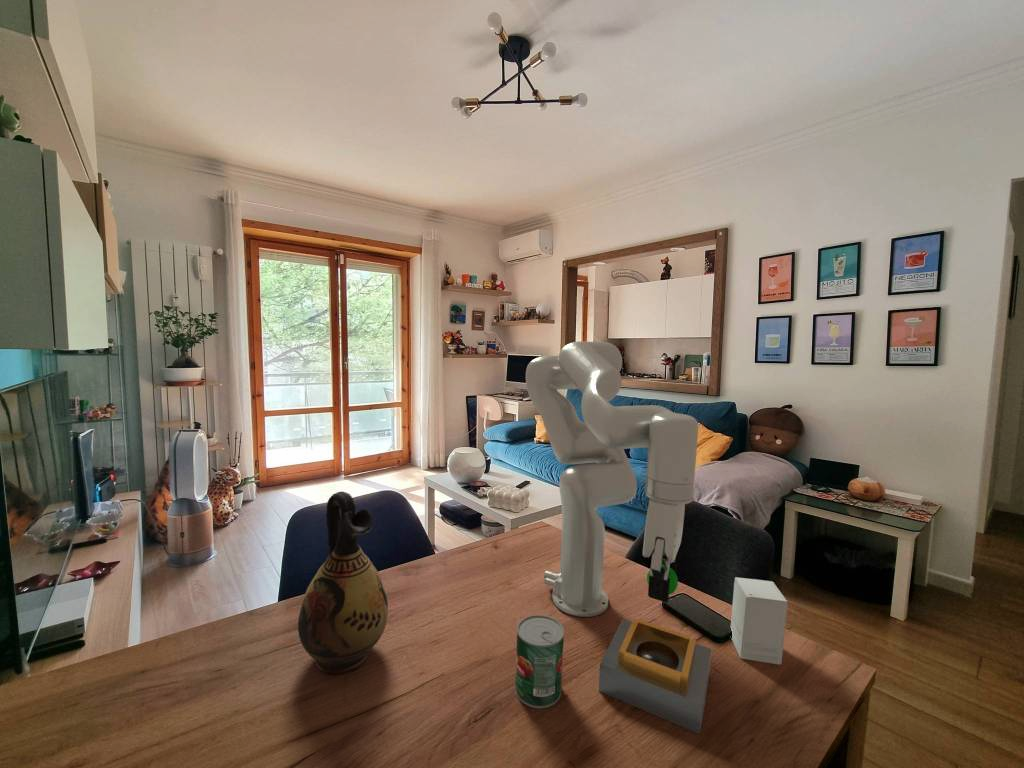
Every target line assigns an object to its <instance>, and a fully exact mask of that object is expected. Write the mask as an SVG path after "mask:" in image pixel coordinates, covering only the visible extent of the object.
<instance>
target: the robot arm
mask: <svg viewBox="0 0 1024 768" xmlns="http://www.w3.org/2000/svg"><path fill="white" fill-rule="evenodd" d="M622 356H623V355H622V354H621V351H620V350H619V348H618V347H617V346H616V345H615V344H612V343H611V342H606V341H573V342H569V343H568V344H566V345H564V346H563V347H562V348H561V349H560V351H559V354H558V355H544V356H539V357H536V358H534V359H532V360H531V361H530V362H529V363H528V364H527V366H526V371H525V384H526V390H527V393H528V396H529V398H530V400H531V403H532V404H533V406H534V408H535V409H536V411H537V413H538V414H539V415H540V418H541V420H542V422H543V425H544V429H545V432H546V434H547V435H546V436H547V437H548V441H549V443H550V447H551V449H552V451H553V454H554V456H555V458H556V459H557V461H558V462H559V463H561V464H564V465H573V466H570V467H567V468H566V469H565V470H563V472H562V473H561V475H560V477H559V482H558V483H559V485H558V486H559V494H560V502H561V503H560V504H561V543H560V545H561V547H560V564H559V565H560V567H559V572H558V573H555V572H553V571H550V570H547V569H546V570H545V572H544V575H543V577H544V584H545V585H548V586H552V587H553V590H552V595H551V596H552V601H553V604H554V605H555V606H556V607H557V608H558V609H559V610H561V611H562V612H564V613H566V614H568V615H571V616H575V617H579V618H580V617H581V618H585V617H586V618H590V617H595V616H599V615H600V614H602V613H605V611H606V610H607V609H608V606H609V597H608V594H607V593H606V591H604V589H603V573H604V559H605V539H606V538H605V536H606V535H605V534H606V530H605V528H606V527H605V524H604V522H603V520H602V518H601V517H600V516H599V514H598V512H597V510H598V509H599V508H603V507H607V506H608V507H609V506H616V505H617V506H618V505H621V504H622V505H623V504H626V503H627V504H628V503H629V502H631V501H632V500H633V499H634V498H635V497H636V494H637V489H638V486H637V479H636V475H635V473H634V470H633V467H632V465H631V463H630V461H629V458H628V456H627V454H626V452H625V450H627V449H629V450H630V449H638V448H640V449H641V448H647V458H646V459H647V460H646V461H647V462H646V477H645V490H644V494H645V496H646V497H647V498H649V499H648V505H647V511H646V518H645V526H644V527H645V528H644V535H643V546H642V556H643V557H644V558H650V556H651V563H650V569H649V570H650V574H649V585H648V590H647V596H648V597H649V598H650V599H654V600H657V601H661V602H664V603H668V602H669V599H670V594H669V587H670V578H668V576H669V567H670V568H671V569H673V570H674V572H675V573H676V569H677V562H676V557H677V555H678V552H679V548H680V546H681V544H682V538H683V529H684V522H685V521H684V520H685V512H686V511H685V509H686V507H685V506H686V505H688V504H690V503H693V500H694V490H695V489H694V488H695V474H696V465H697V463H696V461H697V450H698V440H699V438H698V437H699V421H698V420H697V419H696V418H695V417H694V416H691V415H688V414H684V413H679V412H678V413H677V412H673V411H672V410H670V409H668V408H666V407H664V406H661V405H656V404H655V405H654V404H653V405H652V404H651V405H649V404H648V405H620V406H619V405H618V406H617V405H616V406H614V405H612V404H611V403H610V401H612V400H613V399H614V398H616V396H617V395H618V393H620V390H621V387H622V384H623V383H622V382H623V381H622V376H621V373H620V372H621V369H622V367H623V357H622ZM558 390H579V392H580V393H581V394H582V397H581V399H580V400H581V402H580V403H581V404H580V406H581V407H580V408H581V409H580V410H581V413H582V414H581V415H582V418H583V421H581V419H580V417H579V415H578V413H577V410H576V408H575V406H574V404H572V402H571V401H570V400H569V399H568V398H567V397H566V396H564V395H563V394H562V393H560V392H559V391H558ZM662 564H664V565H665V570H664V568H663V567H662Z"/></svg>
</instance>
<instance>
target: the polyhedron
mask: <svg viewBox="0 0 1024 768" xmlns="http://www.w3.org/2000/svg"><path fill="white" fill-rule="evenodd" d="M662 567H663V568H664V570H665V565H664V564H662ZM649 574H650V569H649V571H648V572H647V573H646V582H647V585H648V586H649ZM668 578H670V587H669V595H672V594H674V593H675V591H676V590H677V588H678V584H679V582H678V576H677V574H676V571H675V572H674V570H673V569H671V568H670V567H669V576H668Z"/></svg>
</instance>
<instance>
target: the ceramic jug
mask: <svg viewBox="0 0 1024 768" xmlns="http://www.w3.org/2000/svg"><path fill="white" fill-rule="evenodd" d="M356 509H357V508H356V504H355V501H354V498H353V497H352V495H351V494H350V493H348V492H346V491H338V492H335V493H333V494H332V495H330V497H329V499H328V500H327V504H326V516H325V518H326V526H327V540H328V541H327V545H328V549H329V550H328V551H329V552H328V555H327V557H326V559H325V561H324V562H323V564H321V566H320V567H319V568H318V570H317V572H316V574H315V575H314V577H313V578H312V580H311V581H310V583H309V585H308V587H307V589H306V591H305V593H304V596H303V598H302V602H301V605H300V609H299V614H298V619H297V620H298V621H297V629H298V630H297V632H298V638H299V641H300V642H301V645H302V647H303V648H304V650H305V652H306V653H307V654H308V655H309V657H311V658H312V659H314V660H315V661H314V662H315V665H316V666H317V668H318V671H321V673H322V674H324V675H326V676H328V675H344V674H348V673H351V672H353V671H355V670H357V669H358V668H359V666H360V665H362V664H363V663H364V662H365V661H366V660H367V658H368V656H369V652H370V651H371V650H372V649H373V648H374V646H375V645H376V644H377V643H378V641H380V639H381V637H382V635H383V633H384V631H385V629H386V625H387V621H388V615H389V614H388V612H389V608H388V607H389V600H388V596H387V592H386V591H387V590H386V588H385V587H386V586H385V585H384V582H383V580H382V577H381V574H380V573H379V571H378V570H377V568H376V567H375V565H374V564H373V562H372V561H371V560H370V558H369V557H368V556H367V554H366V553H364V551H363V550H362V549H363V548H361V546H360V545H359V543H358V536H361V535H366V534H368V533H370V532H371V530H372V528H373V525H374V524H373V517H372V514H371V513H370V511H369V510H368V509H367V508H363V509H361V510H359V511H357V512H356Z"/></svg>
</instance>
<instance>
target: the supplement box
mask: <svg viewBox="0 0 1024 768" xmlns="http://www.w3.org/2000/svg"><path fill="white" fill-rule="evenodd" d="M731 607H732V609H731V618H730V620H731V621H730V628H731V631H732V638H731V641H732V643H733V645H734V647H735V650H736V652H737V653H738V655H739V658H740V659H742V660H748V661H755V662H760V663H766V664H774V665H782V663H783V661H782V660H783V652H784V643H785V641H784V640H785V630H786V620H787V611H788V600H787V599H786V597H785V596H784V595H783V594H782V592H781V590H779V588H778V587H777V585H776V584H775V582H774V581H771V580H763V579H756V578H745V577H737V576H736V577H734V582H733V595H732V606H731Z"/></svg>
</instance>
